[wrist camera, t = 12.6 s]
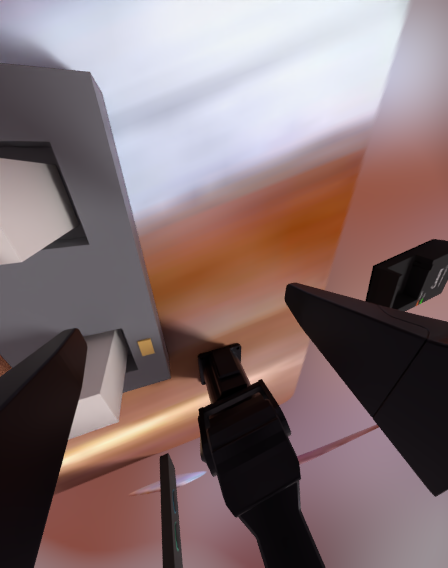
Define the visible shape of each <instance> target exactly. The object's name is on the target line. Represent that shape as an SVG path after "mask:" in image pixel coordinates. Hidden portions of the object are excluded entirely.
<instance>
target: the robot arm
mask: <svg viewBox="0 0 448 568" xmlns="http://www.w3.org/2000/svg"><path fill="white" fill-rule="evenodd" d="M285 302H286V304H287V306H288V307H289V309H290V311H291V312H292V314H293V315H294V317H295V318H296V320H297V322H298V323H299V325H300V326H301V327H302V329H303V330H304V331H305V333H306V334H307V335H308V337H309V338H310V339H311V340H312V342H313V343H314V344H315V345H316V347H317V348H318V349H319V351H320V352H321V353H322V354H323V356H324V357H325V358H326V359H327V361H328V362H329V363H330V365H331V366H332V367H333V368H334V370H335V371H336V372H337V373H338V375H339V376H340V377H341V379H342V380H343V381H344V382H345V384H346V385H347V386H348V387H349V389H350V390H351V391H352V392H353V394H354V395H355V396H356V398H357V399H358V400H359V401H360V403H361V404H362V405H363V407H364V408H365V409H366V410H367V412H368V413H369V414H370V416H371V417H373V420H374V421H375V422H376V423H377V425H378V426H379V427H380V428H381V430H382V431H383V432H384V433H385V435H386V436H387V437H388V438H389V440H390V441H391V442H392V444H393V445H394V446H395V448H396V449H397V450H398V451H399V453H400V454H401V455H402V457H403V458H404V459H405V460H406V462H407V463H408V464H409V465H410V467H411V468H412V469H413V470H414V472H415V473H416V474H417V476H418V477H419V478H420V479H421V481H422V482H423V483H424V485H425V486H426V487H427V488H428V489H429V491H430V492H431V493H432V494H433V495H434V496H435V497H436V496H438V495H440V494H441V493H443V492H445V491H446V490H448V322H446V321H442V320H438V319H433V318H429V317H424V316H420V315H416V314H412V313H408V312H403V311H400V310H396V309H392V308H388V307H384V306H381V305H376V304H373V303H369V302H366V301H362V300H358V299H355V298H351V297H347V296H343V295H340V294H336V293H332V292H328V291H325V290H321V289H317V288H314V287H310V286H306V285H303V284H299V283H291V284H288V285H287V286H286V292H285ZM87 349H88V348H87V343H86V341H85V339H84V337H83V335H82V334H81V332H80V330H79V329H78V328H72V329H67V330H63V331H62V332H60V333H59V334H58V335H56V336H55V337H54V338H52V339H51V340H50V341H48V342H47V343H46V344H44V345H43V346H42V347H40V348H39V349H37V350H36V351H35V352H33V353H32V354H31V355H29V356H28V357H27V358H25V359H24V360H23V361H21V362H20V363H18V364H17V365H16V366H14V367H13V368H12V369H10V370H9V371H8V372H6V373H5V374H4V375H2V376H1V377H0V568H34V565H35V562H36V558H37V554H38V550H39V547H40V543H41V539H42V535H43V532H44V528H45V524H46V521H47V517H48V513H49V509H50V506H51V502H52V498H53V494H54V491H55V487H56V483H57V479H58V476H59V472H60V468H61V465H62V461H63V457H64V453H65V450H66V446H67V442H68V438H69V435H70V431H71V427H72V424H73V420H74V416H75V412H76V409H77V405H78V401H79V397H80V394H81V389H82V384H83V378H84V371H85V364H86V357H87ZM198 364H199V371H200V378H201V384H202V385H205V384H206V386H207V390H208V394H209V398H210V402H211V404H210V405H208V406H206V407H204V408H203V407H202V408H200V409H199V416H198V423H199V428H200V441H201V443H200V455H201V459H202V461H204V462H205V463H207V465H208V468H209V469H210V472H211V474H212V476H213V477H214V476H216V475H217V476H218V480H219V483H220V487H221V491H222V495H223V498H224V500H225V503H226V505H227V507H228V508H229V510H230V511H231V512H232V514H233V515H234V516H235V517H239V518H240V520H241V521H242V522H243V523H244V524H245V526H246V527H247V528H248V529H249V530H250V531H251V533H252V534H253V535H254V536H255V537H256V539H257V543H258V546H259V549H260V552H261V556H262V559H263V562H264V565H265V568H325V565H324V563H323V561H322V559H321V556H320V554H319V551H318V549H317V547H316V545H315V542H314V540H313V538H312V535H311V533H310V531H309V528H308V526H307V524H306V521H305V519H304V517H303V514H302V512H301V508H300V488H299V480H300V479H301V476H300V467H299V461H298V458H297V456H296V453H295V451H294V449H293V447H292V445H291V443H290V441H289V438H288V436H290V435H291V431H290V428H289V426H288V423H287V421H286V418H285V416H284V414H283V412H282V410H281V408H280V407H279V405H278V403H277V402H276V400H275V399H274V397H273V396H272V394H271V393H270V391H269V389H268V388H267V386H266V385H265V383H264V382H263V380H262V379H261V380H259V381H258V382H256V383H254V384H252V385H251V384H250V382H249V380H248V378H247V376H246V373H245V371H244V369H243V367H242V365H241V346H240V344H235V345H232V346H228V347H224V348H221V349H217V350H214V351H210V352H207V353H203V354H200V355H198Z"/></svg>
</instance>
